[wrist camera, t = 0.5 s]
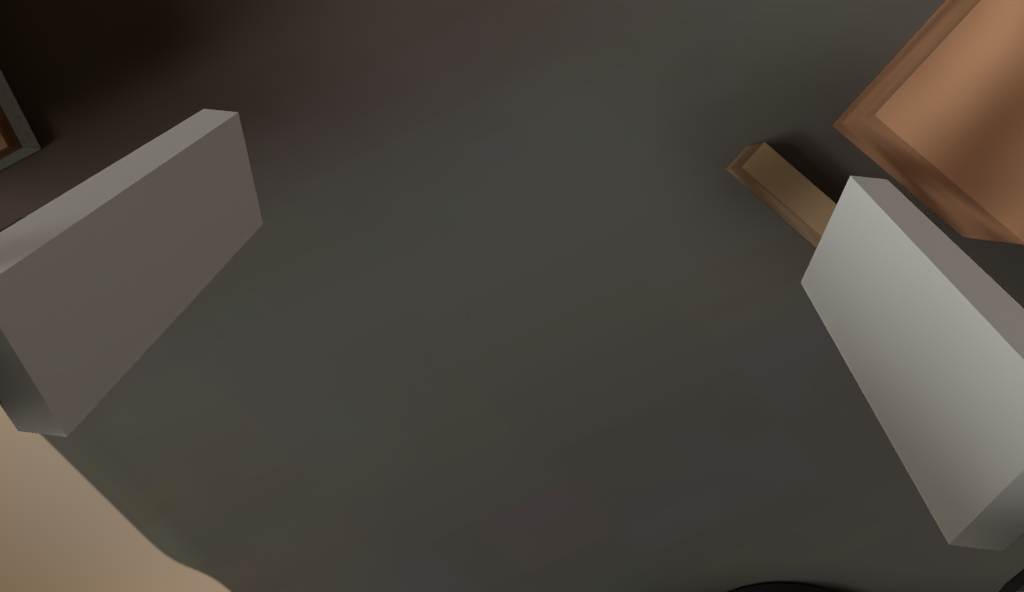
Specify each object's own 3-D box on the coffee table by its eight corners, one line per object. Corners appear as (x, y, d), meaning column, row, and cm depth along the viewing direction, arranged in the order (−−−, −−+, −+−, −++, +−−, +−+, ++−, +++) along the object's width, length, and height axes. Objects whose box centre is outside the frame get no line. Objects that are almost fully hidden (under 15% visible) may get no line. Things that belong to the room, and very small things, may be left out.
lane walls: (1306, 98, 26) (1397, 86, 23) (976, 386, 30) (1019, 407, 27) (1023, -161, 26) (1080, -206, 23) (725, 169, 30) (741, 167, 27)
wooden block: (1106, 94, 27) (1207, 75, 23) (959, 236, 29) (1027, 245, 25) (968, -27, 27) (1044, -68, 23) (829, 126, 29) (874, 115, 25)
